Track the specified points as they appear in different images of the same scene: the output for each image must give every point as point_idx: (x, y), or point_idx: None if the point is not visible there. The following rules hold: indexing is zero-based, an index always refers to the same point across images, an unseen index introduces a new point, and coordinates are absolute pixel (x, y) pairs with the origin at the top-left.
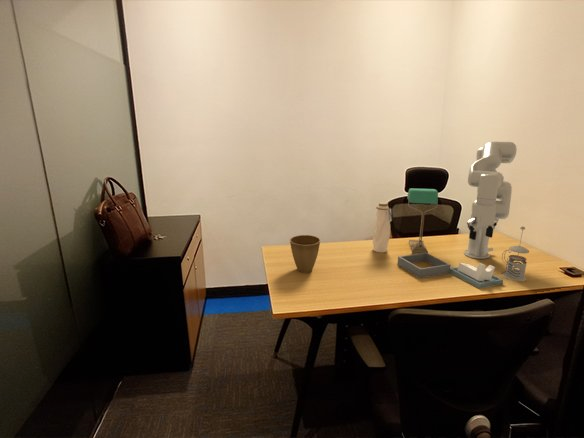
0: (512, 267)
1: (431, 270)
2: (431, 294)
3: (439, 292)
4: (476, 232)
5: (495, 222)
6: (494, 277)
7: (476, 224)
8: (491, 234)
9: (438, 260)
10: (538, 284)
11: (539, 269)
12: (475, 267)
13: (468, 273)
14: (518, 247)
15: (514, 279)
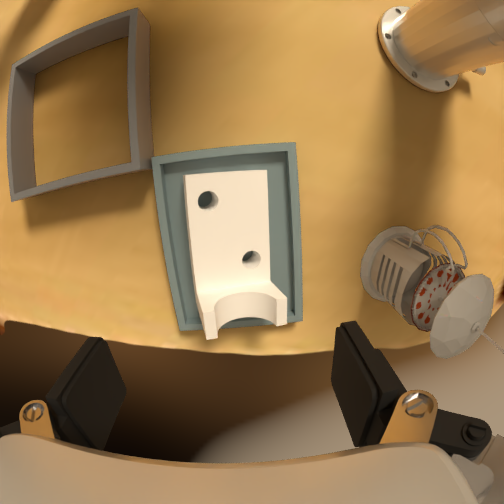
0: (390, 298)
1: (55, 189)
2: (32, 306)
3: (52, 304)
4: (100, 449)
5: (469, 471)
6: (293, 287)
7: (127, 464)
8: (344, 404)
9: (129, 94)
10: (403, 329)
11: (493, 236)
12: (262, 211)
13: (189, 248)
14: (463, 334)
15: (370, 292)
